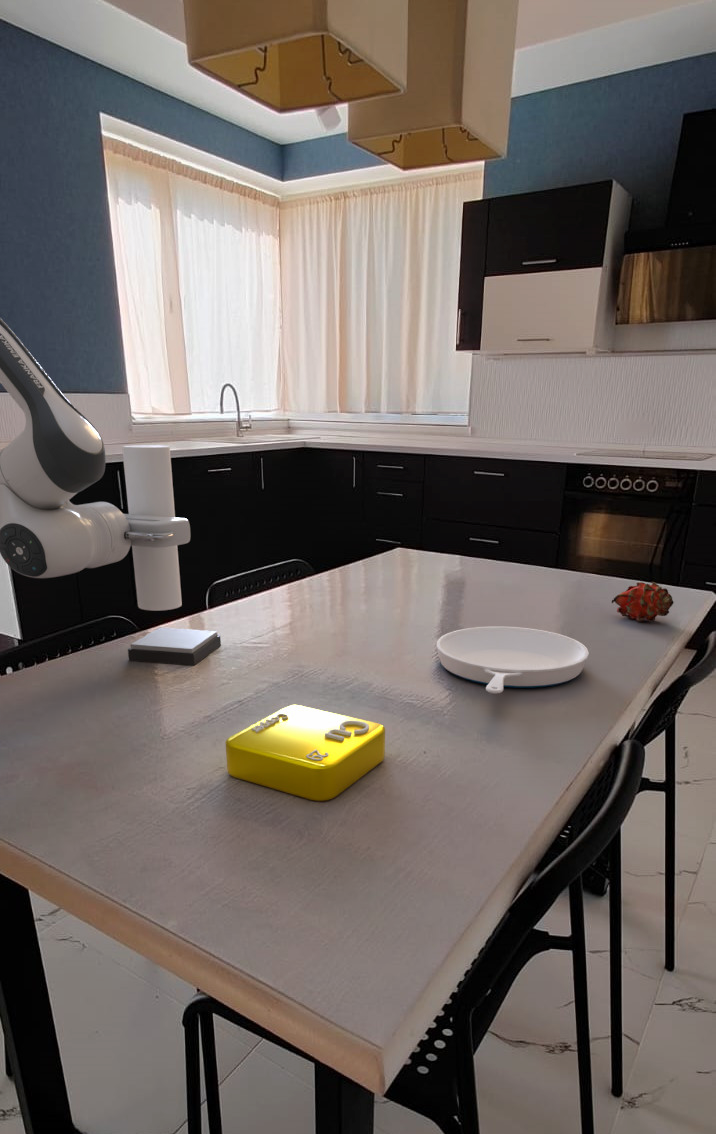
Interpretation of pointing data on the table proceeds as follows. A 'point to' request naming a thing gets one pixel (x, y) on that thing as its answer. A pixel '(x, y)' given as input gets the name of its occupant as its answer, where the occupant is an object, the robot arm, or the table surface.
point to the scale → (174, 646)
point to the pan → (511, 656)
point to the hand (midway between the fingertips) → (155, 522)
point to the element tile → (306, 752)
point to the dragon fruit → (644, 602)
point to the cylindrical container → (153, 498)
